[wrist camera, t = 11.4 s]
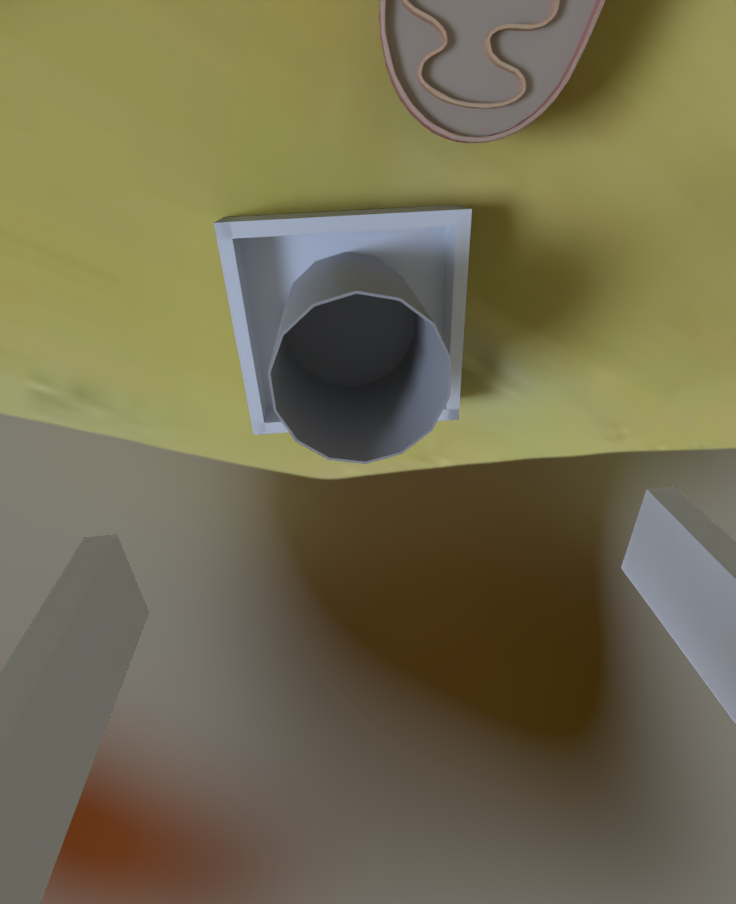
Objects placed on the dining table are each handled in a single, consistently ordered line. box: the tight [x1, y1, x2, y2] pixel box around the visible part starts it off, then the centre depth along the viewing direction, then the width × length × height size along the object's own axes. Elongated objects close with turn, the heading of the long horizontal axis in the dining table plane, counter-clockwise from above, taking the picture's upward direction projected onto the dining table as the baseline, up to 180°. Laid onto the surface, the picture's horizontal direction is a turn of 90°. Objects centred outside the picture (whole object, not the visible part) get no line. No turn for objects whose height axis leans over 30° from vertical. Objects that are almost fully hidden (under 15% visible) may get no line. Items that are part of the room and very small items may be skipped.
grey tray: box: [214, 205, 472, 435], centre depth 30 cm, size 13×14×3 cm
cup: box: [268, 252, 452, 464], centre depth 26 cm, size 8×8×10 cm
